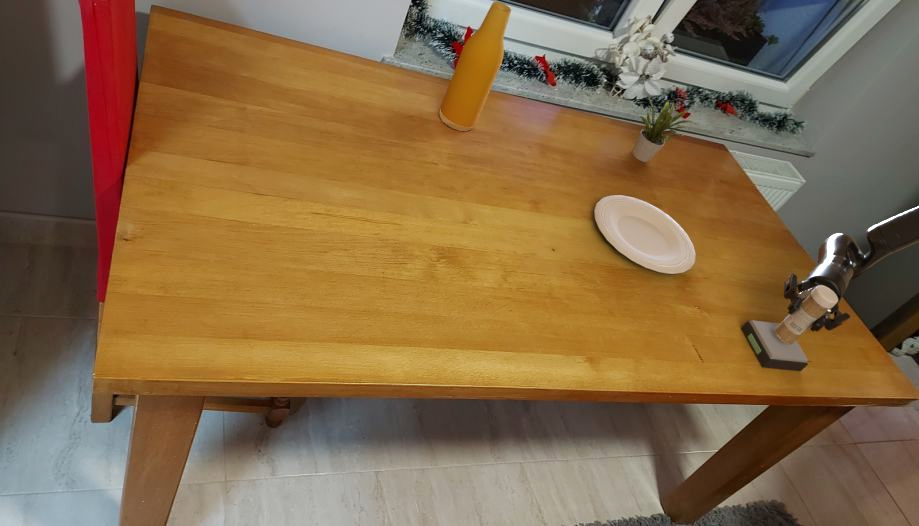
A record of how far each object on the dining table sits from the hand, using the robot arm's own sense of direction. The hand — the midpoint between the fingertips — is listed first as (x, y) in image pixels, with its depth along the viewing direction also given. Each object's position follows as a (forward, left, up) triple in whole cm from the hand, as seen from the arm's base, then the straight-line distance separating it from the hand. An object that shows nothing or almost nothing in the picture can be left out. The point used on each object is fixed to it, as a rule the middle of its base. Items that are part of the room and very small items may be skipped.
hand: (803, 319), depth 131 cm
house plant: (+4, -64, -12) cm, 65 cm away
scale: (-2, -2, -12) cm, 12 cm away
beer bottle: (+58, -63, -12) cm, 86 cm away
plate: (+18, -31, -12) cm, 37 cm away
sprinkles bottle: (-2, -2, -8) cm, 8 cm away
